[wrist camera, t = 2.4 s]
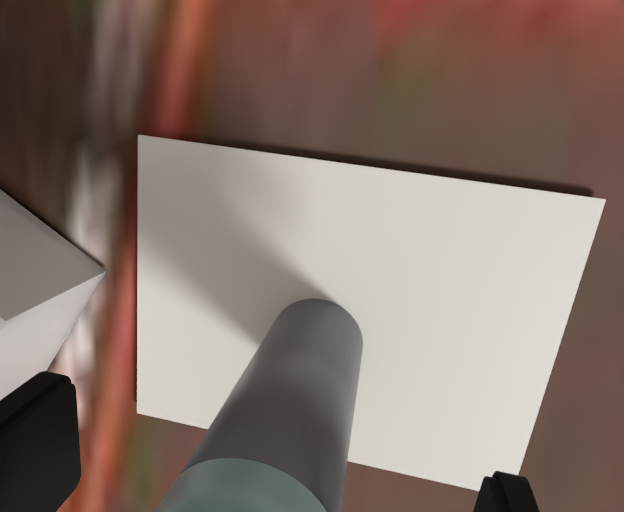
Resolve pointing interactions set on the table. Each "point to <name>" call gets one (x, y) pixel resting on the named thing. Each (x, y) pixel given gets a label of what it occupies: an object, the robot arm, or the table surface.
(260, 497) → the marker
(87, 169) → the table surface
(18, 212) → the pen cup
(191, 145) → the paper
